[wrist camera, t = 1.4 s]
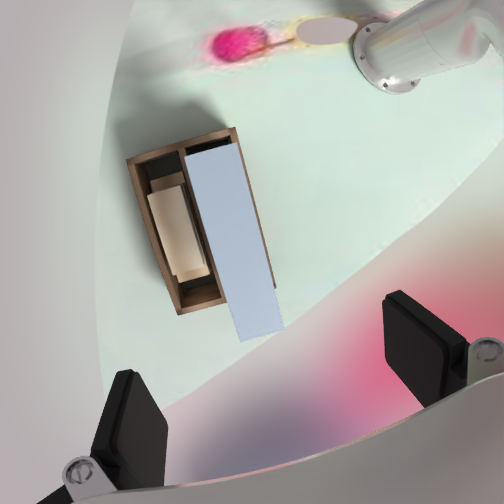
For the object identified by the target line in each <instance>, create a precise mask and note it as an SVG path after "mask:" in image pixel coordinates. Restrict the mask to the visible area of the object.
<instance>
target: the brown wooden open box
mask: <svg viewBox="0 0 504 504" xmlns="http://www.w3.org/2000/svg"><path fill="white" fill-rule="evenodd" d="M224 139H228V142H229V144H232V143H236V142H237V145H238V149H239V153H240V156H241V160H242V164H243V168H244V172H245V176H246V179H247V183H248V187H249V191H250V195H251V199H252V202H253V206H254V210H255V214H256V218H257V222H258V226H259V230H260V233H261V237H262V241H263V245H264V249H265V253H266V257H267V261H268V265H269V269H270V273H271V277H272V281H273V285H274V289H276V284H275V280H274V276H273V272H272V268H271V264H270V260H269V256H268V252H267V248H266V244H265V240H264V236H263V232H262V228H261V224H260V220H259V216H258V212H257V209H256V205H255V201H254V197H253V193H252V189H251V185H250V181H249V178H248V174H247V170H246V166H245V162H244V158H243V155H242V151H241V147H240V143H239V140H238V136H237V132H236V128H235V127H233V128H229V129H225V130H221V131H217V132H213V133H210V134H206V135H203V136H199V137H195V138H192V139H189V140H185V141H182V142H179V143H175V144H172V145H169V146H166V147H162V148H159V149H156V150H153V151H150V152H147V153H144V154H141V155H138V156H136V157H133V158H130V159H127V160H126V161H127V165H128V169H129V172H130V176H131V179H132V183H133V186H134V190H135V193H136V196H137V200H138V203H139V206H140V209H141V213H142V216H143V219H144V222H145V225H146V228H147V231H148V234H149V237H150V240H151V243H152V246H153V249H154V252H155V255H156V258H157V261H158V264H159V266H160V269H161V272H162V275H163V278H164V280H165V283H166V286H167V288H168V291H169V294H170V296H171V299H172V302H173V304H174V307H175V310H176V312H177V315H182V314H186V313H190V312H194V311H197V310H201V309H205V308H208V307H212V306H216V305H219V304H223V303H227V300H226V297H225V294H224V290H223V287H222V284H221V281H220V278H219V274H218V271H217V268H216V265H215V262H214V258H213V255H212V252H211V248H210V245H209V242H208V238H207V235H206V232H205V228H204V225H203V222H202V218H201V215H200V211H199V208H198V205H197V201H196V198H195V194H194V191H193V187H192V184H191V180H190V176H189V173H188V169H187V166H186V162H185V158H184V157H185V156H189V151H188V150H189V149H192V148H195V147H199V146H202V145H206V144H210V143H213V142H217V141H221V140H224ZM175 153H179V156H180V160H181V163H182V167H183V170H184V174H185V178H186V181H187V185H188V188H189V192H190V195H191V199H192V202H193V205H194V209H195V212H196V216H197V219H198V222H199V226H200V229H201V232H202V236H203V239H204V242H205V246H206V249H207V252H208V255H209V259H210V262H211V265H212V268H213V271H214V275H215V278H216V281H217V282H215V283H212V284H208V285H205V286H201V287H197V288H194V289H190V290H187V291H184V288H183V285H182V282H180V283H179V281H178V278H177V275H173V274H172V271H171V268H170V265H169V262H168V260H167V257H166V254H165V251H164V248H163V245H162V242H161V239H160V236H159V232H158V229H157V226H156V223H155V220H154V217H153V213H152V210H151V207H150V204H149V200H148V197H147V196H148V195H149V194H151V193H152V189H151V186H150V183H149V179H148V176H147V172H146V169H145V165H144V163H147V162H150V161H153V160H156V159H159V158H162V157H166V156H169V155H172V154H175Z"/></svg>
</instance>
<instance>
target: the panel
mask: <svg viewBox="0 0 504 504" xmlns="http://www.w3.org/2000/svg"><path fill="white" fill-rule="evenodd" d="M184 158H185V162H186V166H187V169H188V173H189V176H190V180H191V184H192V187H193V191H194V194H195V198H196V201H197V205H198V208H199V211H200V215H201V218H202V222H203V225H204V228H205V232H206V235H207V238H208V242H209V245H210V248H211V252H212V255H213V258H214V262H215V265H216V268H217V271H218V274H219V278H220V281H221V284H222V287H223V290H224V294H225V297H226V300H227V303H228V306H229V309H230V312H231V315H232V318H233V321H234V324H235V328H236V331H237V334H238V337H239V340H240V342H242V341H246V340H249V339H253V338H257V337H260V336H264V335H267V334H270V333H274V332H277V331H281V330H284V325H283V321H282V317H281V313H280V309H279V305H278V301H277V297H276V293H275V289H274V285H273V281H272V277H271V273H270V269H269V265H268V261H267V257H266V253H265V249H264V245H263V241H262V237H261V233H260V230H259V226H258V222H257V218H256V214H255V210H254V206H253V202H252V199H251V195H250V191H249V187H248V183H247V179H246V176H245V172H244V168H243V164H242V160H241V156H240V153H239V149H238V145H237V142H236V143H232V144H228V145H225V146H221V147H217V148H213V149H210V150H206V151H203V152H199V153H196V154H192V155H189V156H185V157H184Z"/></svg>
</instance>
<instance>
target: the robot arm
mask: <svg viewBox="0 0 504 504" xmlns="http://www.w3.org/2000/svg"><path fill="white" fill-rule="evenodd" d="M490 42H491V43H492V45H493V46H494V48H495V49H496V51H497V52H498V53H499V54H500V56H501V58H502V59H503V61H504V0H423V1H422V2H420V3H418V4H417V5H415V6H413V7H412V8H410V9H408V10H407V11H405V12H404V13H402V14H400V15H399V16H397V17H396V18H394V19H393V20H391V21H390V22H388V23H382V22H374V23H370V24H368V25H366V26H364V27H363V28H362V29H361V30H359V32H358V33H357V35H356V37H355V40H354V45H353V50H354V57H355V60H356V63H357V65H358V67H359V69H360V71H361V72H362V74H363V75H364V76H365V78H366V79H367V80H368V81H369V82H370V83H371V84H373V85H374V86H375V87H377V88H378V89H380V90H382V91H384V92H386V93H390V94H403V93H407V92H410V91H411V90H413V89H414V88H415V87H416V86H417V85H418V84H419V82H420V80H421V78H423V77H427V76H430V75H434V74H437V73H441V72H444V71H448V70H452V69H456V68H460V67H464V66H467V65H471V64H474V63H476V62H478V61H479V60H480V59H481V58H482V57H483V56H484V55H485V53H486V51H487V50H488V47H489V44H490ZM360 58H361V59H360ZM382 309H383V324H384V345H385V359H386V361H387V363H388V365H389V366H390V367H391V368H392V370H393V371H394V372H395V373H396V374H397V375H398V377H399V378H400V379H401V380H402V381H403V383H404V384H405V385H406V386H407V387H408V389H409V390H410V391H411V392H412V393H413V395H414V396H415V397H416V398H417V400H418V401H419V402H420V403H421V404H422V405H423V407H424V409H422V410H420V411H418V412H416V413H415V414H412V415H410V416H408V417H406V418H404V419H402V420H400V421H398V422H396V423H393V424H392V425H389V426H387V427H385V428H382V429H380V430H378V431H375V432H373V433H371V434H368V435H366V436H364V437H361V438H358V439H356V440H353V441H351V442H348V443H345V444H343V445H340V446H338V447H335V448H332V449H329V450H326V451H323V452H320V453H317V454H314V455H311V456H308V457H304V458H301V459H298V460H295V461H291V462H288V463H284V464H280V465H277V466H273V467H269V468H265V469H261V470H257V471H252V472H248V473H244V474H239V475H234V476H229V477H224V478H219V479H213V480H207V481H201V482H194V483H186V484H179V485H171V486H164V475H165V461H166V448H167V437H168V424H167V422H166V419H165V418H164V416H163V414H162V413H161V411H160V409H159V408H158V406H157V404H156V403H155V401H154V399H153V398H152V396H151V394H150V392H149V391H148V389H147V387H146V385H145V383H144V382H143V380H142V378H141V376H140V374H139V373H138V372H134V371H133V370H132V369H128V370H123V371H118V372H117V373H116V375H115V378H114V381H113V384H112V387H111V389H110V392H109V395H108V398H107V401H106V404H105V407H104V410H103V413H102V416H101V419H100V422H99V425H98V428H97V431H96V434H95V438H94V441H93V444H92V447H91V454H90V457H89V456H81V457H77V458H75V459H73V460H72V461H70V462H69V463H68V464H67V465H66V466H65V468H64V471H63V473H62V478H63V482H64V485H63V486H62V487H60V488H59V489H57V490H56V491H54V492H53V493H51V494H50V495H49V496H47V497H46V498H44V499H43V500H42V501H40V502H38V503H37V504H504V343H503V342H502V341H500V340H498V339H496V338H490V337H484V338H480V339H477V340H475V341H474V342H472V343H471V344H470V343H468V342H467V341H466V339H465V338H464V337H463V336H462V335H460V334H459V333H458V332H456V331H455V330H454V329H453V328H451V327H450V326H449V325H447V324H446V323H445V322H443V321H442V320H441V319H439V318H438V317H437V316H435V315H434V314H433V313H431V312H430V311H429V310H427V309H426V308H424V307H423V306H422V305H421V304H419V303H418V302H416V301H415V300H414V299H412V298H411V297H410V296H408V295H407V294H405V293H404V292H403V291H401V290H397V291H395V292H392V293H390V294H387V295H386V297H385V299H384V300H383V301H382Z"/></svg>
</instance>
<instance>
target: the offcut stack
mask: <svg viewBox="0 0 504 504" xmlns="http://www.w3.org/2000/svg"><path fill="white" fill-rule="evenodd" d="M150 183H151V187H152V190H153V193H151V194H149V195H148V196H147V197H148V200H149V204H150V207H151V210H152V213H153V217H154V220H155V223H156V226H157V229H158V232H159V236H160V239H161V242H162V245H163V248H164V251H165V254H166V257H167V260H168V262H169V265H170V268H171V271H172V274H173V275H177V278H178V281H179V283H180V282H184V281H188V280H191V279H195V278H198V277H202V276H206V275H209V274H210V271H212V266H211V262H210V259H209V256H208V253H207V249H206V246H205V243H204V240H203V236H202V233H201V230H200V226H199V223H198V219H197V216H196V213H195V209H194V206H193V202H192V199H191V195H190V192H189V188H188V185H187V181H186V178H185V174H184V171H181V172H177V173H174V174H171V175H168V176H164V177H161V178H158V179H155V180H152V181H150Z"/></svg>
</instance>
